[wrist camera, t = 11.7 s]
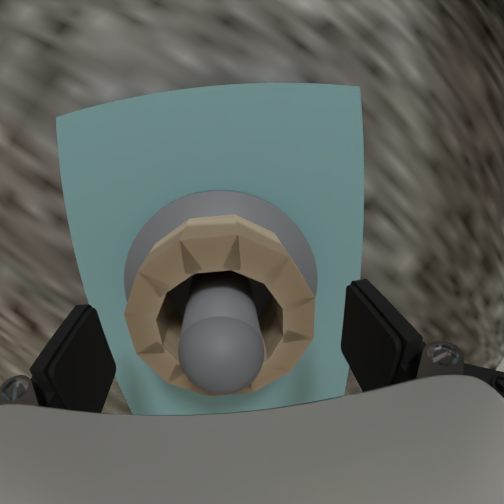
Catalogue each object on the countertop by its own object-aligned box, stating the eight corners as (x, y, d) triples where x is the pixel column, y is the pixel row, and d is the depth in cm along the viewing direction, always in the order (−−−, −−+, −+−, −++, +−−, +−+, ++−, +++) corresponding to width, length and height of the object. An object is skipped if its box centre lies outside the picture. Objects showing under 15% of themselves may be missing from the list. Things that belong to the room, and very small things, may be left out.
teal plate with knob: (347, 91, 13) (450, 58, 6) (337, 380, 19) (378, 470, 12) (69, 119, 12) (-38, 111, 5) (136, 399, 18) (115, 493, 11)
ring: (295, 209, 13) (316, 227, 10) (296, 345, 15) (310, 384, 12) (131, 225, 12) (107, 247, 9) (161, 357, 15) (152, 397, 12)
